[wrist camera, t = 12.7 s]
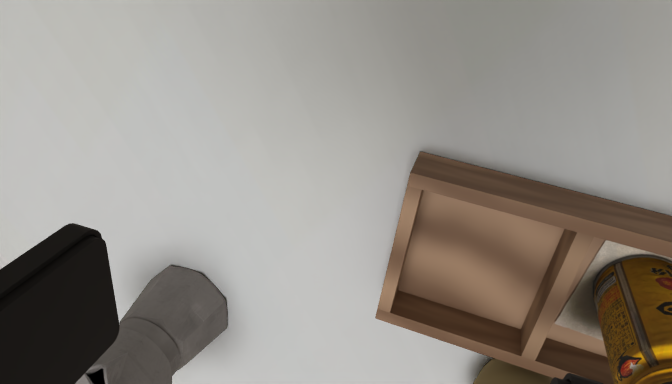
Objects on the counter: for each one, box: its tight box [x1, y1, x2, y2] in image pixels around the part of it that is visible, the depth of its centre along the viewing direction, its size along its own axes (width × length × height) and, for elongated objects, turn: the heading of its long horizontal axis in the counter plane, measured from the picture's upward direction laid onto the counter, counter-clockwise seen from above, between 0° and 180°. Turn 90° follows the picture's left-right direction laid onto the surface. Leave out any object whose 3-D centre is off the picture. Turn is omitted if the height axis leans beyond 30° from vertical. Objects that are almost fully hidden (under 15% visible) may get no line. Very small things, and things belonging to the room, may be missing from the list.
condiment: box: [555, 240, 672, 384], centre depth 30 cm, size 7×8×12 cm
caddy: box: [375, 152, 672, 384], centre depth 35 cm, size 13×23×4 cm, turn 81°
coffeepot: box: [75, 266, 228, 384], centre depth 44 cm, size 15×9×18 cm, turn 154°
